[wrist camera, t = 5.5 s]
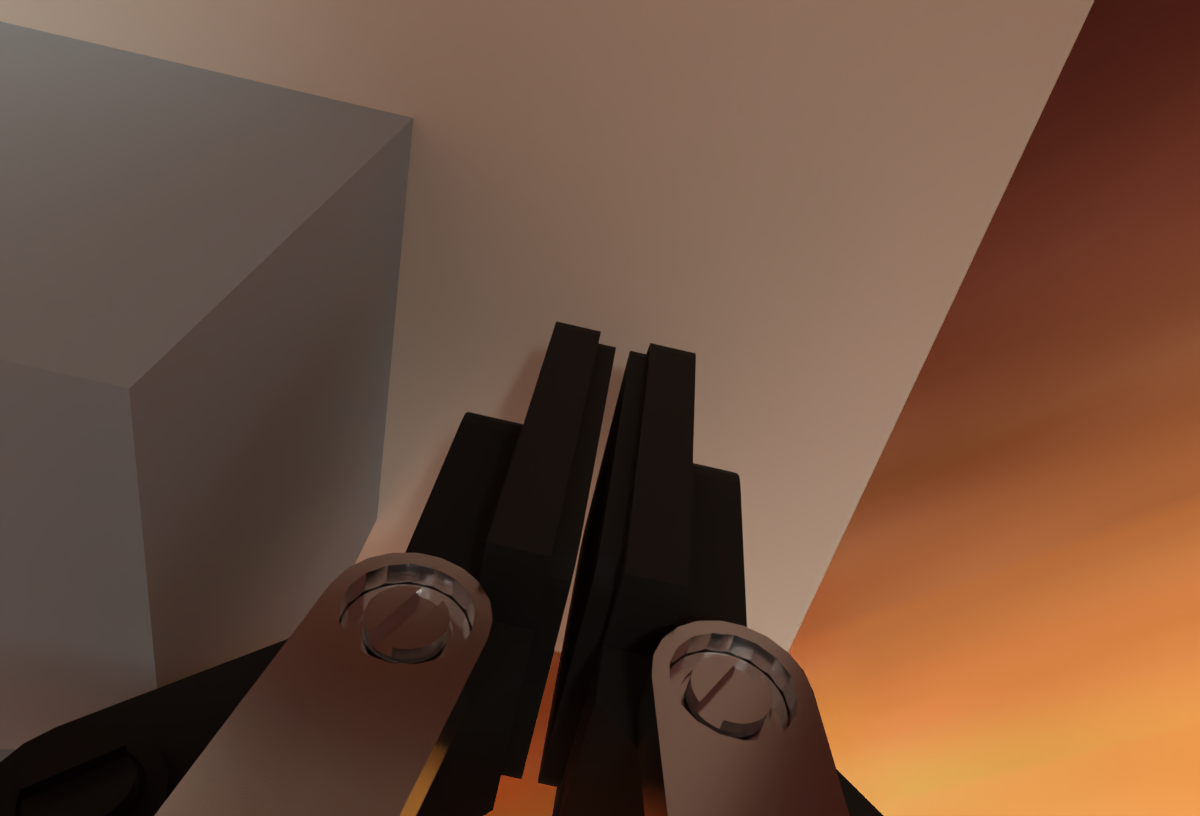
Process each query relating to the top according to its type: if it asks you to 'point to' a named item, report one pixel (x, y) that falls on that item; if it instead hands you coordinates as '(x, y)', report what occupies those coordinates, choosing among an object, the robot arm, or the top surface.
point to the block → (180, 365)
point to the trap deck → (662, 211)
